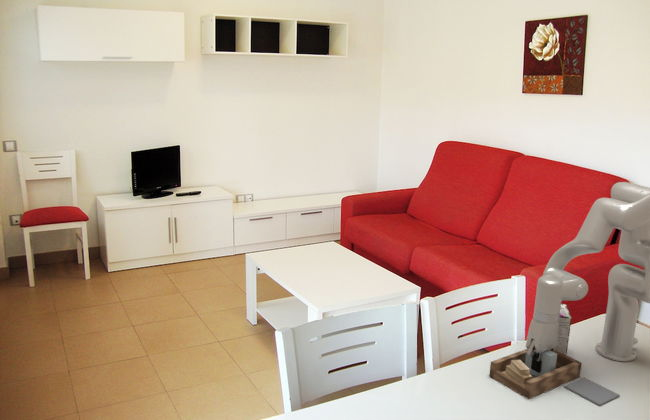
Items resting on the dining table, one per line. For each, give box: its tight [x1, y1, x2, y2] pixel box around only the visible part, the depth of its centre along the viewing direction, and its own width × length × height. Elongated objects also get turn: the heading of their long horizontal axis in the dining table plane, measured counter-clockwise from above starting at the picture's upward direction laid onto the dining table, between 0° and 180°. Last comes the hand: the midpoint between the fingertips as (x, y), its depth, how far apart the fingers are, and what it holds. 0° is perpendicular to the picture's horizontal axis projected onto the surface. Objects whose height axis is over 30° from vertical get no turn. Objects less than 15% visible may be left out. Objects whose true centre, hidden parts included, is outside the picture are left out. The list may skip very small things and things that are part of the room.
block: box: [525, 348, 557, 378], centre depth 195 cm, size 3×9×9 cm, turn 33°
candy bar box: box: [554, 303, 572, 356], centre depth 208 cm, size 11×5×16 cm, turn 168°
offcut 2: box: [506, 365, 533, 385], centre depth 190 cm, size 3×8×2 cm, turn 26°
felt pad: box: [563, 376, 620, 407], centre depth 187 cm, size 10×12×1 cm
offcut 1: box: [511, 360, 530, 376], centre depth 190 cm, size 3×6×2 cm, turn 12°
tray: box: [488, 348, 583, 400], centre depth 195 cm, size 25×15×5 cm, turn 123°
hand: (539, 368), depth 196 cm, fingers closed on block, 3 cm apart
